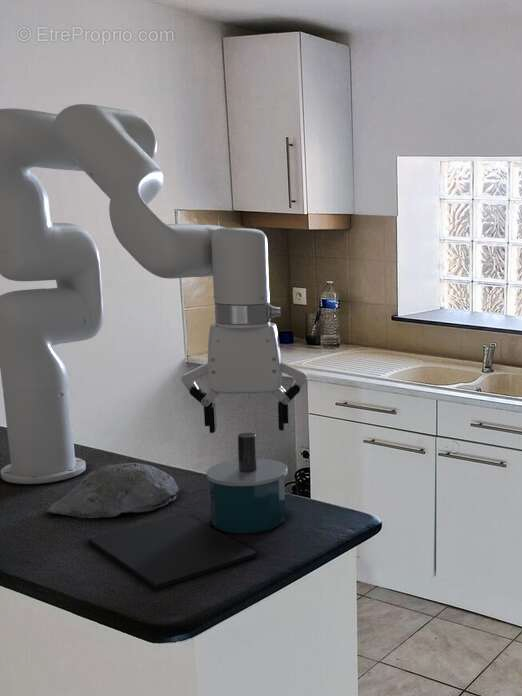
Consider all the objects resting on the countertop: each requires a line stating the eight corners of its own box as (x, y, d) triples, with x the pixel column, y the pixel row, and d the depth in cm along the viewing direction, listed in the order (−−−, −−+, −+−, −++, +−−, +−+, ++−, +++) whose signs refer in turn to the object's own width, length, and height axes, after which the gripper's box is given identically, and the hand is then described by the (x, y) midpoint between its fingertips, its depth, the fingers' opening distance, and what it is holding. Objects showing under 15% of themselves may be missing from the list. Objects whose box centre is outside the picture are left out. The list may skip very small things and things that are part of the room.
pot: (215, 509, 126) (213, 464, 124) (285, 505, 129) (284, 461, 127) (208, 535, 116) (206, 486, 114) (285, 531, 119) (283, 483, 117)
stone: (116, 458, 137) (191, 445, 133) (128, 500, 138) (202, 489, 134) (33, 485, 120) (116, 472, 116) (46, 533, 121) (129, 522, 117)
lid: (210, 467, 124) (208, 425, 123) (288, 464, 128) (287, 423, 126) (202, 492, 114) (200, 447, 112) (287, 488, 117) (286, 444, 115)
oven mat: (88, 542, 112) (88, 538, 111) (185, 517, 122) (185, 513, 122) (156, 589, 99) (156, 585, 99) (257, 556, 110) (257, 552, 110)
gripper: (304, 312, 121) (307, 421, 125) (181, 311, 116) (188, 425, 120) (305, 318, 114) (308, 433, 118) (174, 318, 109) (181, 438, 113)
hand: (247, 429), depth 119 cm, fingers open, 9 cm apart
